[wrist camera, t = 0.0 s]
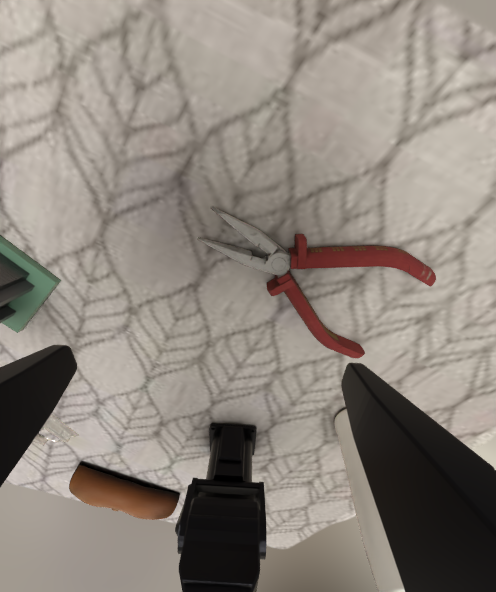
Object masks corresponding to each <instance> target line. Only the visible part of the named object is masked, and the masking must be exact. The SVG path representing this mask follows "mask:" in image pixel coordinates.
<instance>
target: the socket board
mask: <svg viewBox="0 0 496 592" xmlns="http://www.w3.org/2000/svg"><path fill="white" fill-rule="evenodd" d="M0 253H2V254H3V255H5V256H6V257H7V258H9V259H10V260H12V261H13V262H14V263H16V264H17V265H18V266H20V267H21V268H23V269H24V270H25V271H27V272H28V273H30V275H29V276H28V277H27V279H26V280H24V281H22V282H19V283H17V284H15V285H13V286H10V287H8V288H6V289H4V290H1V291H0V306H2V305H4V304H6V303H8V302H10V301H11V302H10V303H9V305H8V306H6V307H4V308H2V309H0V323H3V324H4V325H6V326H8V327H9V328H11V329H12V330H14V331H16V332H17V333H18V332H20V331H21V330H23V328H24V327H25V326H26V325H27V323H28V322H29V321H30V319H31V318H32V317H33V316H34V314H35V313H36V312H37V311H38V309H39V308H40V307H41V305H42V304H43V303H44V302H45V300H46V299H47V298H48V296H49V295H50V294H51V293H52V291H53V290H54V289H55V287H56V286H57V285H58V284H59V282H60V281H61V280H60V279H58V278H57V277H55V276H54V275H53V274H51V273H50V272H49V271H47V270H46V269H45V268H43V267H42V266H41V265H39V264H38V263H37V262H35V261H34V260H33V259H31V258H30V257H29V256H27V255H26V254H24V253H23V252H22V251H20V250H19V249H18V248H16V247H15V246H14V245H12V244H11V243H10V242H8V241H7V240H6V239H4V238H3V237H2V236H0Z"/></svg>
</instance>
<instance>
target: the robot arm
mask: <svg viewBox="0 0 496 592" xmlns="http://www.w3.org/2000/svg"><path fill="white" fill-rule="evenodd" d="M76 370H77V363H76V360H75V358H74V355H73V352H72V350H71V348H70V347H69V346H67V345H52V346H50V347H47V348H45V349H43V350H40V351H38V352H36V353H33V354H31V355H28V356H26V357H24V358H21V359H19V360H17V361H14V362H12V363H10V364H7V365H5V366H2V367H0V487H1V485H2V484H3V483H4V481H5V480H6V478H7V477H8V476H9V474H10V473H11V471H12V470H13V468H14V467H15V466H16V464H17V463H18V461H19V460H20V458H21V457H22V456H23V454H24V453H25V451H26V450H27V448H28V447H29V446H30V444H31V443H32V441H33V440H34V439H35V437H36V436H37V434H38V433H39V431H40V430H41V429H42V427H43V426H44V424H45V423H46V421H47V420H48V418H49V417H50V415H51V413H52V412H53V410H54V408H55V407H56V405H57V403H58V402H59V400H60V398H61V396H62V395H63V393H64V391H65V390H66V388H67V386H68V384H69V383H70V381H71V379H72V377H73V376H74V374H75V372H76ZM341 386H342V391H343V396H344V400H345V405H346V409H347V413H348V418H349V422H350V426H351V431H352V434H353V438H354V441H355V444H356V448H357V450H358V453H359V456H360V459H361V462H362V465H363V468H364V471H365V474H366V477H367V480H368V483H369V486H370V489H371V492H372V495H373V498H374V501H375V504H376V507H377V510H378V513H379V516H380V519H381V521H382V524H383V527H384V530H385V533H386V536H387V539H388V542H389V545H390V548H391V551H392V554H393V557H394V560H395V563H396V566H397V569H398V572H399V575H400V578H401V581H402V584H403V587H404V590H405V592H496V470H494V468H493V467H492V466H491V465H490V464H489V463H487V462H486V461H485V460H483V459H482V458H481V457H480V456H478V455H477V454H476V453H475V452H474V451H472V450H471V449H470V448H468V447H467V446H466V445H465V444H463V443H462V442H461V441H460V440H458V439H457V438H456V437H455V436H453V435H452V434H451V433H449V432H448V431H447V430H446V429H444V428H443V427H442V426H441V425H439V424H438V423H437V422H436V421H434V420H433V419H432V418H430V417H429V416H428V415H427V414H425V413H424V412H423V411H422V410H420V409H419V408H418V407H417V406H415V405H414V404H413V403H411V402H410V401H409V400H408V399H406V398H405V397H404V396H403V395H401V394H400V393H399V392H398V391H396V390H395V389H394V388H392V387H391V386H390V385H389V384H387V383H386V382H385V381H384V380H382V379H381V378H380V377H379V376H377V375H376V374H375V373H373V372H372V371H371V370H370V369H368V368H367V367H366V366H365V365H363V364H361V363H349V364H348V365H347V366H346V369H345V373H344V376H343V379H342V383H341ZM209 431H210V452H211V453H210V459H209V465H208V471H207V477H206V479H198V478H193V480H192V484H190V485H188V490H187V495H186V499H185V502H184V505H183V508H182V511H181V513H180V516H179V519H178V521H177V524H176V528H175V532H176V534H177V536H178V554H181V558H180V563H179V574H180V580H181V585H182V591H183V592H256V591H257V585H258V579H259V573H260V559H265V557H266V512H265V496H264V482H259V483H255V482H252V456H253V455H254V449H255V440H256V427H255V426H243V425H227V424H211V425H210V428H209Z"/></svg>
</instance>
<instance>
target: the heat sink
mask: <svg viewBox="0 0 496 592" xmlns="http://www.w3.org/2000/svg"><path fill="white" fill-rule="evenodd" d="M29 275H30V273H28V272H27V271H25V270H24V269H23V268H21V267H20V266H18V265H17V264H16V263H14V262H13V261H12V260H10V259H9V258H7V257H6V256H5V255H3V254H2V253H0V291H1V290H4V289H6V288H8V287H10V286H13V285H15V284H17V283H19V282H22V281H24V280H26V279H27V277H28V276H29ZM10 302H11V301H10ZM10 302H8V303H6V304H4V305H2V306H0V309H2V308H4V307H6V306H8V305H9V303H10Z"/></svg>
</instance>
